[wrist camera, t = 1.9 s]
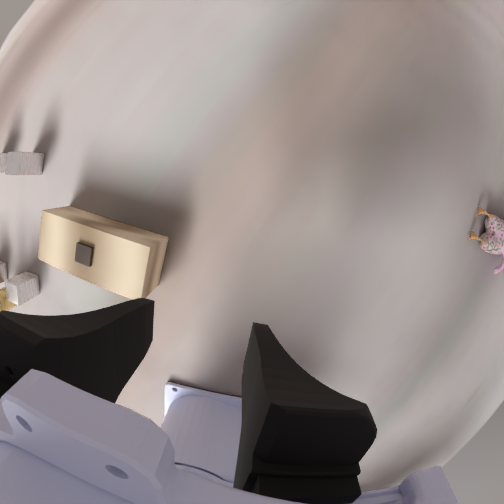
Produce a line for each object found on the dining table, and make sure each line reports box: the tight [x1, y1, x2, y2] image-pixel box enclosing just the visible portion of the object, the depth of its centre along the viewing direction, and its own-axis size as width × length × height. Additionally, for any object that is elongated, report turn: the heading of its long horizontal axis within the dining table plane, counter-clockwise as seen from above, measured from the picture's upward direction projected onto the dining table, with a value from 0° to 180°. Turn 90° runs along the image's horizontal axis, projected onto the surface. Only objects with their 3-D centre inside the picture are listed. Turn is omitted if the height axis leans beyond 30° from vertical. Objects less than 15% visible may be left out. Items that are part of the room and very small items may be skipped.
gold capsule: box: [0, 287, 17, 312], centre depth 20 cm, size 2×2×5 cm
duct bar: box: [38, 206, 169, 300], centre depth 19 cm, size 10×4×4 cm, turn 73°
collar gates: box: [0, 152, 45, 306], centre depth 19 cm, size 8×14×4 cm, turn 169°
